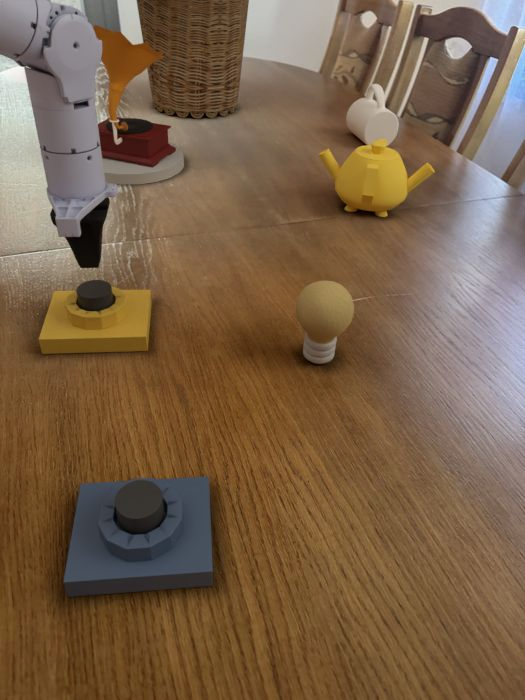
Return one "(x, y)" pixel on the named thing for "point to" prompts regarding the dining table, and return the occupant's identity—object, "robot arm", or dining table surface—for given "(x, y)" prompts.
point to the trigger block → (97, 324)
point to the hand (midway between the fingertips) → (90, 265)
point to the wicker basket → (195, 54)
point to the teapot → (373, 178)
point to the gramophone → (132, 120)
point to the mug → (372, 118)
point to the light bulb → (323, 318)
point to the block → (140, 541)
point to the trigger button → (95, 295)
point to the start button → (139, 506)
